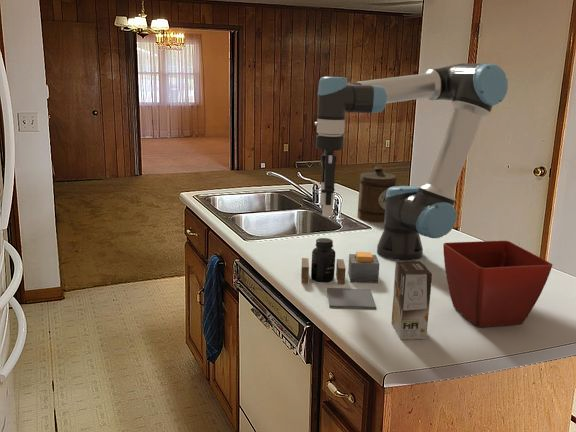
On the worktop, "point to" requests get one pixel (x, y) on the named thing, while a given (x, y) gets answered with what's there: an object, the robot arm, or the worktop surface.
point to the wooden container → (374, 194)
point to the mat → (350, 298)
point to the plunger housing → (363, 270)
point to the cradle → (339, 271)
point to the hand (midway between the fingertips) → (326, 210)
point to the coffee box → (411, 299)
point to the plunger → (364, 257)
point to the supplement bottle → (323, 261)
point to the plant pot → (494, 281)
